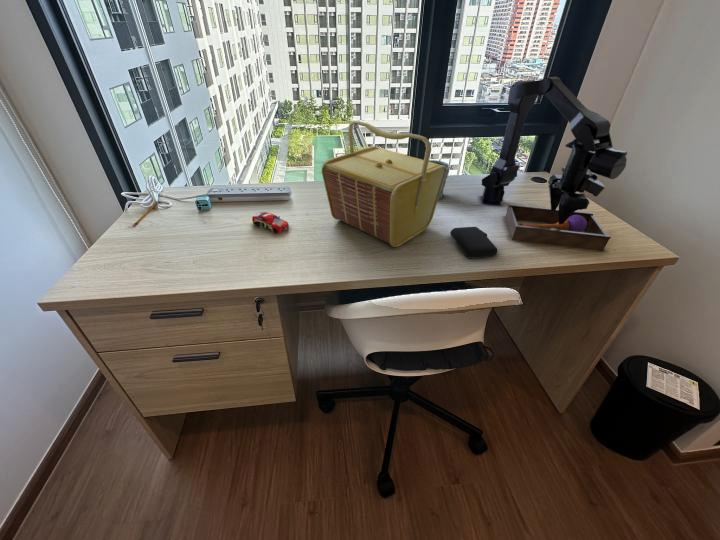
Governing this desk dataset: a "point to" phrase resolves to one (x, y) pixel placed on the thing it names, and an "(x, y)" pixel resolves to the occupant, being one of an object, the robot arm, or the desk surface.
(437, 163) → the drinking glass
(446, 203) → the desk surface
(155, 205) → the pencil
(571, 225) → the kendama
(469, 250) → the carrying case
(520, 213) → the wooden tray
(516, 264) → the desk surface
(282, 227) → the race car
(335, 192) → the picnic basket
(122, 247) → the desk surface
